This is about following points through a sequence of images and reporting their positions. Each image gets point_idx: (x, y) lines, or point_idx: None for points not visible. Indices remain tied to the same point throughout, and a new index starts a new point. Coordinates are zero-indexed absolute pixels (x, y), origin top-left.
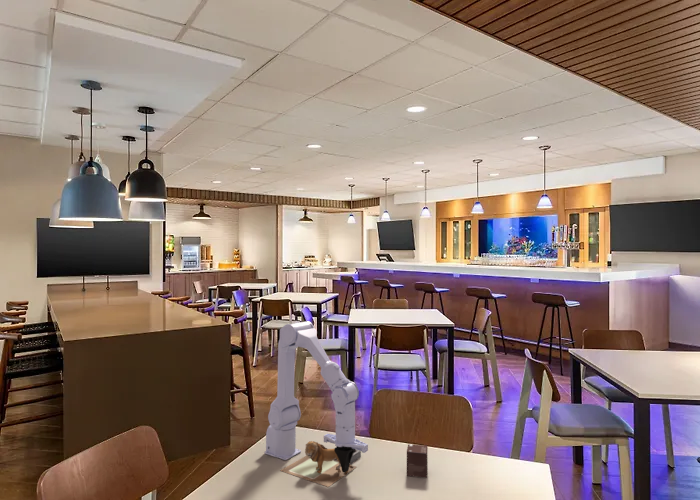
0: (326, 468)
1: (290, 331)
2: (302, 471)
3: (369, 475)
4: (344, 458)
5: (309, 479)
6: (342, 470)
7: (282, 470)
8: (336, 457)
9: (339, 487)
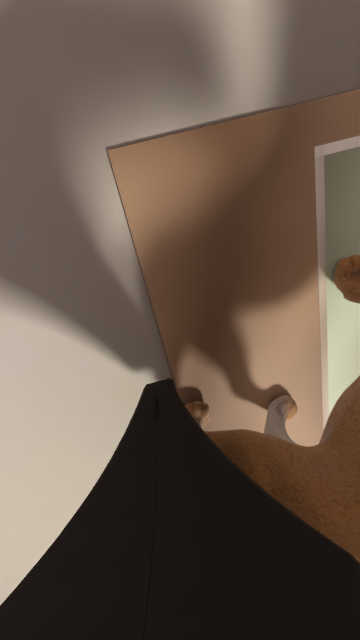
0: (342, 350)
1: None
2: None
3: (70, 488)
4: (98, 513)
5: (341, 111)
6: (165, 385)
7: None
8: (309, 457)
9: (41, 231)
